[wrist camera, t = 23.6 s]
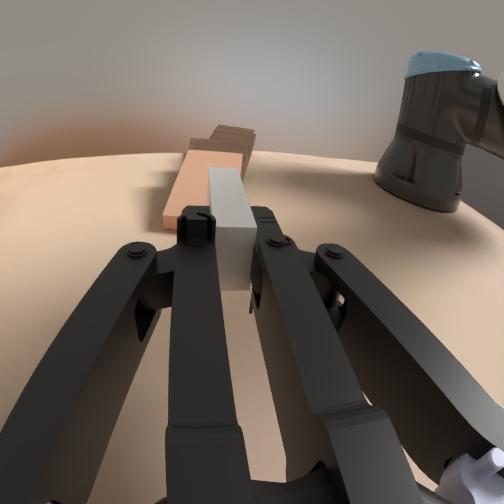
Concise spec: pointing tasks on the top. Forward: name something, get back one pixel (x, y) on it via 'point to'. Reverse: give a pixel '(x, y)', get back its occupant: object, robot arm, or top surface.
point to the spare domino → (195, 181)
